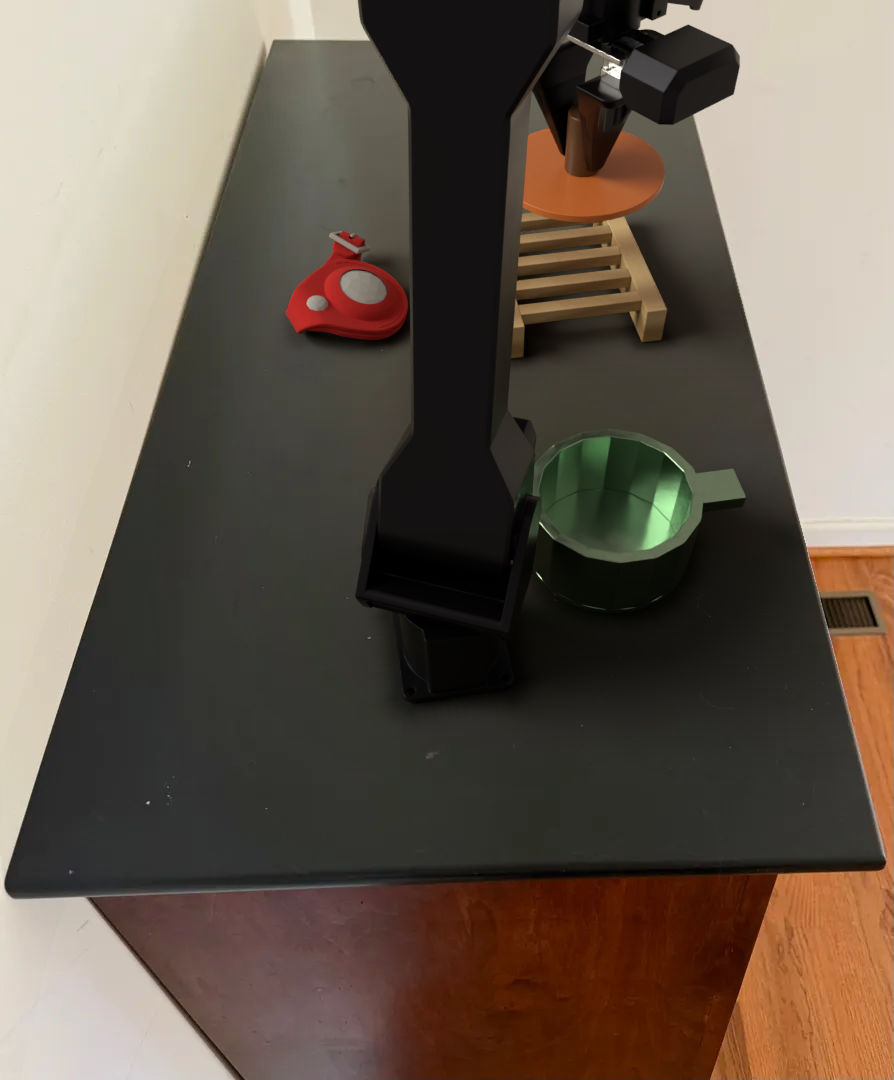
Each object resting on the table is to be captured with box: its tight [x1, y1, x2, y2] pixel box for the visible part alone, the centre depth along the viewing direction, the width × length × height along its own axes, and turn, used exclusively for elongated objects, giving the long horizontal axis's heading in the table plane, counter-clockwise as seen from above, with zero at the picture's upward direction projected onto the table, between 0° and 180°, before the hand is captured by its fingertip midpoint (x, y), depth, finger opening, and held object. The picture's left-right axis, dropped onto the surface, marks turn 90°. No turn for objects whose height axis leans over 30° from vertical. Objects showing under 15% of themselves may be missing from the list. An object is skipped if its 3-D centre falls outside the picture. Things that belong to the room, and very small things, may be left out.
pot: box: [532, 428, 747, 615], centre depth 57 cm, size 10×16×6 cm, turn 98°
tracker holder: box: [285, 230, 409, 341], centre depth 74 cm, size 12×4×10 cm
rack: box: [511, 212, 668, 359], centre depth 74 cm, size 16×13×3 cm
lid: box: [523, 104, 666, 222], centre depth 62 cm, size 11×11×5 cm
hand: (581, 161), depth 63 cm, fingers closed on lid, 2 cm apart
